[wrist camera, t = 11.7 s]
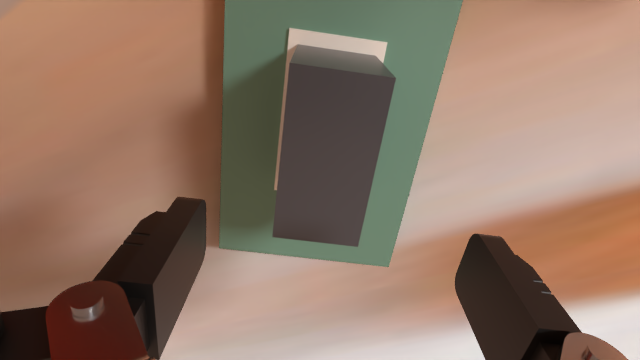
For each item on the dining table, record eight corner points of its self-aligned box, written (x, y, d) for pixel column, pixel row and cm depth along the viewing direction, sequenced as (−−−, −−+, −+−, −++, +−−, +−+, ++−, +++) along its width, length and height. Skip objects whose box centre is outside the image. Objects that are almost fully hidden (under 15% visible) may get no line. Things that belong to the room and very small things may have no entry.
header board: (234, -98, 18) (212, -122, 15) (468, -58, 19) (505, -71, 15) (224, 235, 27) (208, 274, 23) (385, 253, 28) (395, 294, 24)
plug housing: (297, 44, 20) (289, 62, 14) (375, 55, 20) (396, 77, 15) (283, 181, 23) (272, 237, 18) (349, 189, 24) (358, 246, 18)
